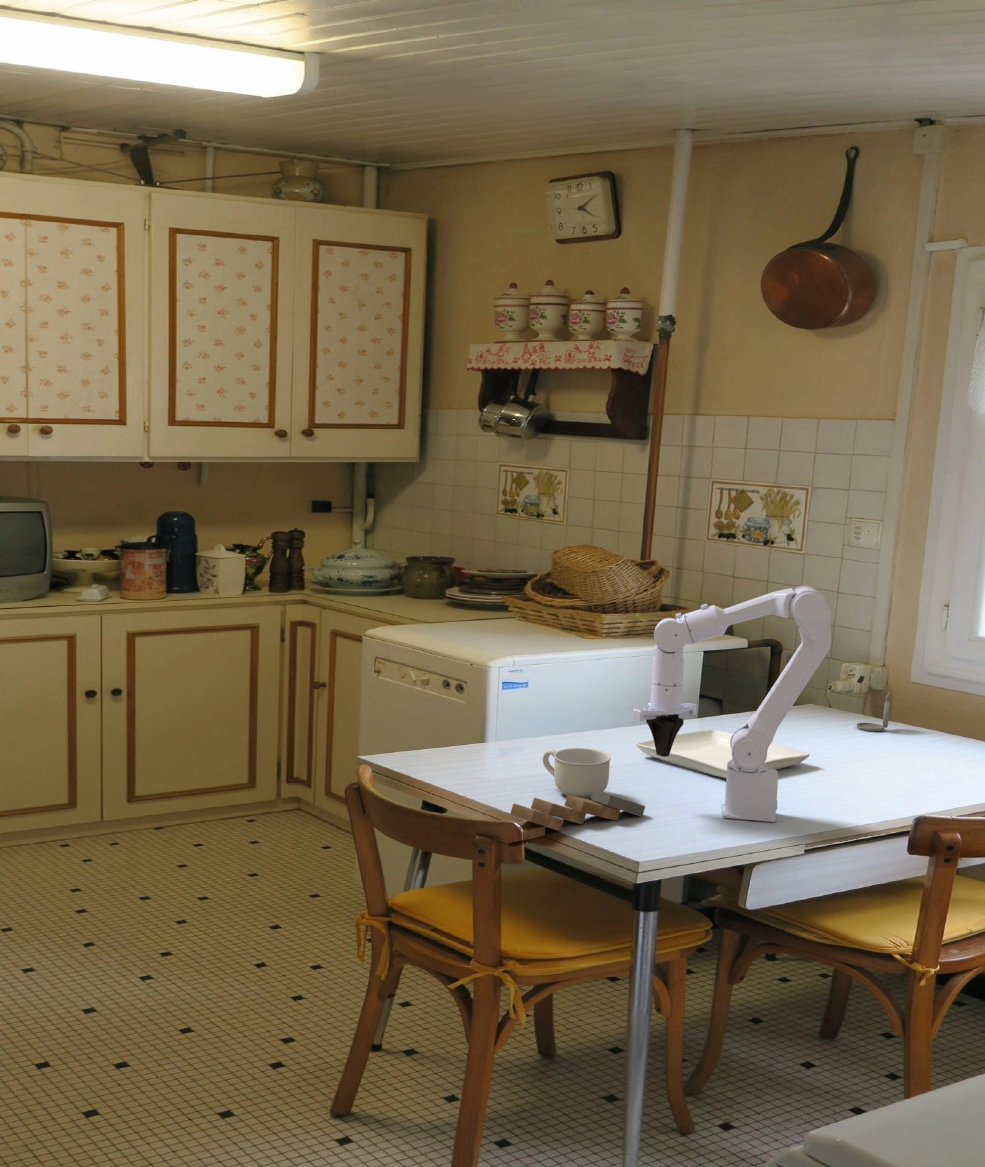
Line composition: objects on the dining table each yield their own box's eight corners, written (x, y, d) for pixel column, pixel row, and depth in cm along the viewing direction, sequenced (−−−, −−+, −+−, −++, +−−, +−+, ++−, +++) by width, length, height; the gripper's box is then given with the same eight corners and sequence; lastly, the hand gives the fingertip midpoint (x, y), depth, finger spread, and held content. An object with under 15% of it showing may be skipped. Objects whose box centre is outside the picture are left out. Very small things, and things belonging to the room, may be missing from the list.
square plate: (632, 759, 276) (633, 741, 275) (712, 743, 293) (713, 727, 293) (731, 787, 255) (732, 768, 255) (811, 769, 273) (812, 751, 273)
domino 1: (543, 813, 222) (513, 803, 216) (563, 819, 219) (534, 810, 213) (540, 824, 222) (509, 814, 215) (560, 831, 219) (530, 821, 212)
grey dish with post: (851, 726, 318) (854, 687, 317) (881, 726, 320) (884, 687, 319) (868, 734, 310) (871, 693, 309) (899, 733, 312) (902, 693, 311)
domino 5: (629, 800, 234) (594, 788, 229) (645, 806, 230) (610, 794, 225) (625, 810, 234) (590, 799, 229) (642, 817, 230) (607, 805, 225)
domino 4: (604, 803, 231) (567, 794, 226) (620, 809, 227) (583, 801, 222) (601, 814, 231) (564, 805, 226) (617, 820, 227) (580, 812, 222)
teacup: (619, 797, 243) (622, 756, 242) (582, 806, 235) (584, 764, 235) (566, 781, 253) (568, 742, 252) (528, 789, 245) (530, 749, 244)
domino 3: (568, 807, 227) (534, 797, 222) (586, 813, 224) (552, 803, 218) (564, 818, 227) (530, 808, 221) (582, 824, 224) (548, 814, 218)
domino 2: (526, 819, 220) (488, 828, 214) (545, 826, 216) (507, 835, 210) (525, 831, 220) (488, 840, 214) (544, 837, 217) (507, 847, 210)
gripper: (679, 677, 242) (675, 746, 243) (623, 682, 233) (619, 754, 235) (706, 683, 236) (702, 754, 238) (649, 689, 228) (645, 763, 229)
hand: (662, 755), depth 236 cm, fingers closed
